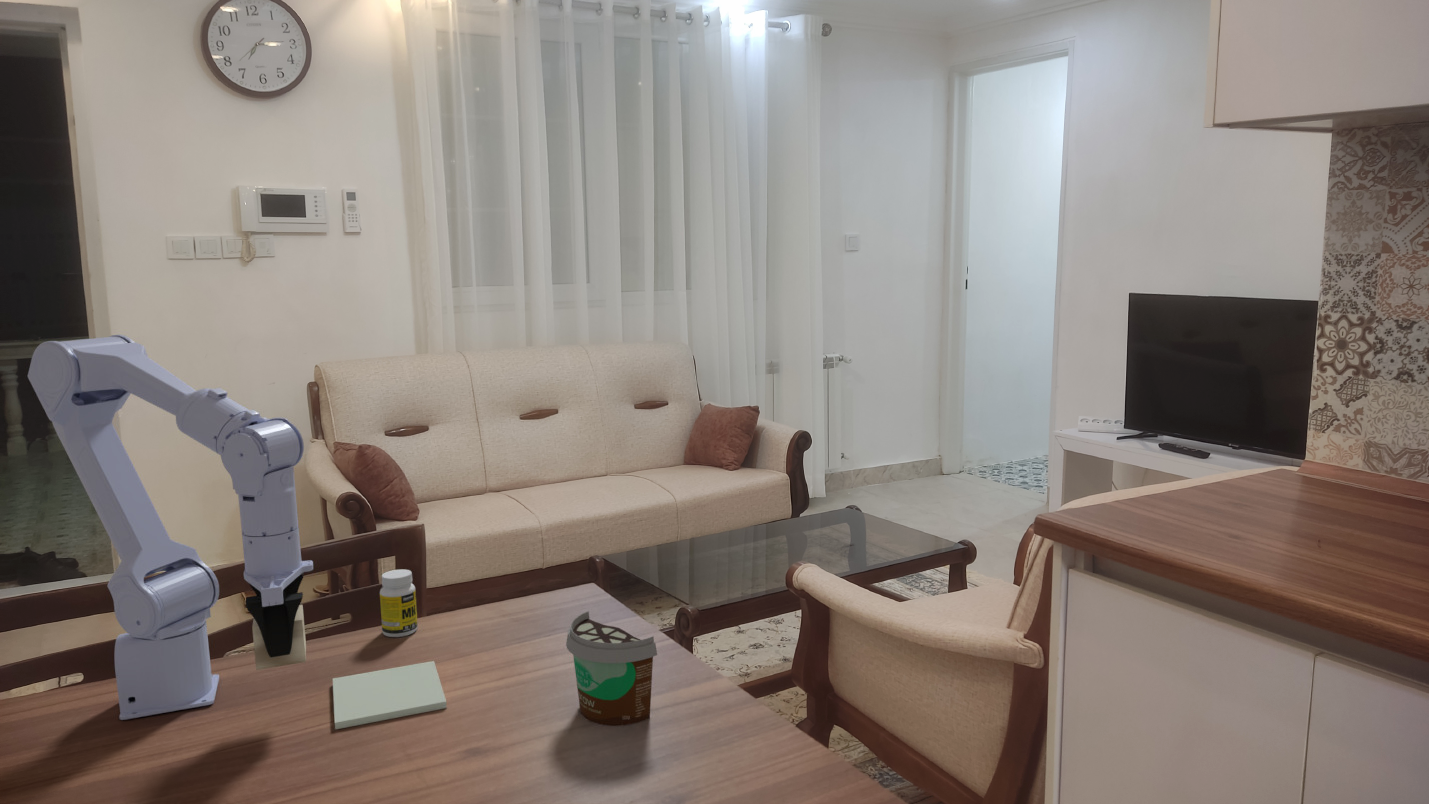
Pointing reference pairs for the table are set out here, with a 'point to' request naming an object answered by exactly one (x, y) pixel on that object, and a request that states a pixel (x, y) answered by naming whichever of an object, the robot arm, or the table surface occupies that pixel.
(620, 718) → the food container
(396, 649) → the table surface
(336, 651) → the table surface
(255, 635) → the cube
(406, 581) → the supplement bottle
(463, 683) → the table surface
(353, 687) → the tile
